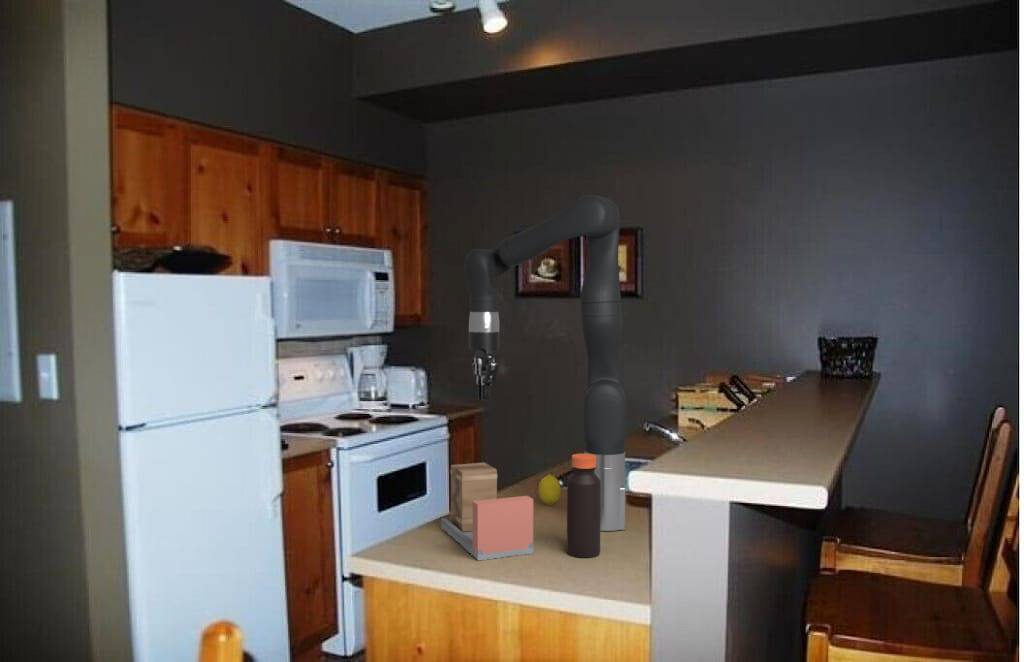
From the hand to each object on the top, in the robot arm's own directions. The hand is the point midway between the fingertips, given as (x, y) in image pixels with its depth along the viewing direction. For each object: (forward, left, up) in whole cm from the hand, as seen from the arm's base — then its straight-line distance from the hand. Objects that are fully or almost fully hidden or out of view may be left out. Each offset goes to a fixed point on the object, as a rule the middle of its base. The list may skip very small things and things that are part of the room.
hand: (484, 399), depth 192 cm
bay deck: (-5, +26, -27) cm, 38 cm away
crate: (-1, +20, -26) cm, 33 cm away
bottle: (-26, +32, -27) cm, 49 cm away
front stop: (-10, +35, -26) cm, 45 cm away
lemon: (-16, -4, -27) cm, 32 cm away
